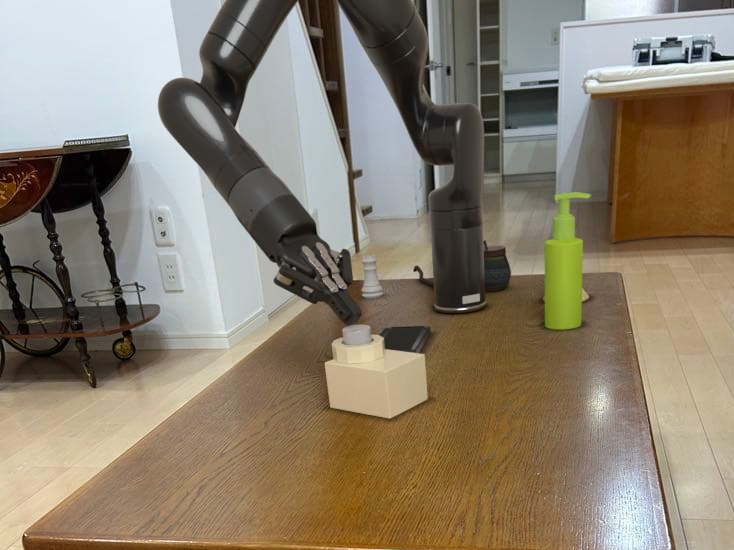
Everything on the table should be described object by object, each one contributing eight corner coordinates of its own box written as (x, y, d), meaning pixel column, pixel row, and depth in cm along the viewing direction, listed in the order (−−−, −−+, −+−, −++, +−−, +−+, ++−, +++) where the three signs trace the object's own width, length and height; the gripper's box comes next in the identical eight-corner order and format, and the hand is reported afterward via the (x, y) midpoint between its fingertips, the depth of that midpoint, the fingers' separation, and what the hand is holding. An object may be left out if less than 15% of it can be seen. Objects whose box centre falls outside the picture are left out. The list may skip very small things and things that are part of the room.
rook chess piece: (383, 298, 165) (379, 256, 161) (361, 299, 165) (356, 258, 161) (384, 293, 169) (380, 252, 165) (362, 295, 169) (358, 254, 165)
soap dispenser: (587, 328, 131) (590, 193, 122) (543, 330, 133) (543, 196, 123) (588, 319, 136) (591, 189, 127) (545, 321, 138) (545, 192, 128)
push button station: (325, 406, 108) (317, 346, 104) (364, 389, 113) (358, 330, 109) (390, 419, 101) (384, 355, 98) (428, 399, 107) (423, 338, 103)
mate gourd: (513, 285, 165) (512, 232, 161) (508, 293, 159) (507, 239, 154) (477, 286, 167) (476, 234, 163) (471, 294, 161) (469, 240, 156)
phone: (431, 325, 136) (415, 350, 123) (431, 332, 137) (416, 357, 124) (384, 327, 138) (364, 351, 125) (385, 333, 138) (365, 359, 126)
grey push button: (338, 346, 105) (336, 330, 104) (356, 339, 107) (354, 323, 106) (359, 349, 103) (358, 332, 102) (377, 341, 105) (376, 325, 104)
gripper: (244, 199, 97) (333, 312, 96) (319, 186, 106) (402, 288, 105) (222, 245, 103) (306, 352, 102) (296, 229, 112) (374, 327, 111)
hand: (355, 319), depth 103 cm, fingers closed
